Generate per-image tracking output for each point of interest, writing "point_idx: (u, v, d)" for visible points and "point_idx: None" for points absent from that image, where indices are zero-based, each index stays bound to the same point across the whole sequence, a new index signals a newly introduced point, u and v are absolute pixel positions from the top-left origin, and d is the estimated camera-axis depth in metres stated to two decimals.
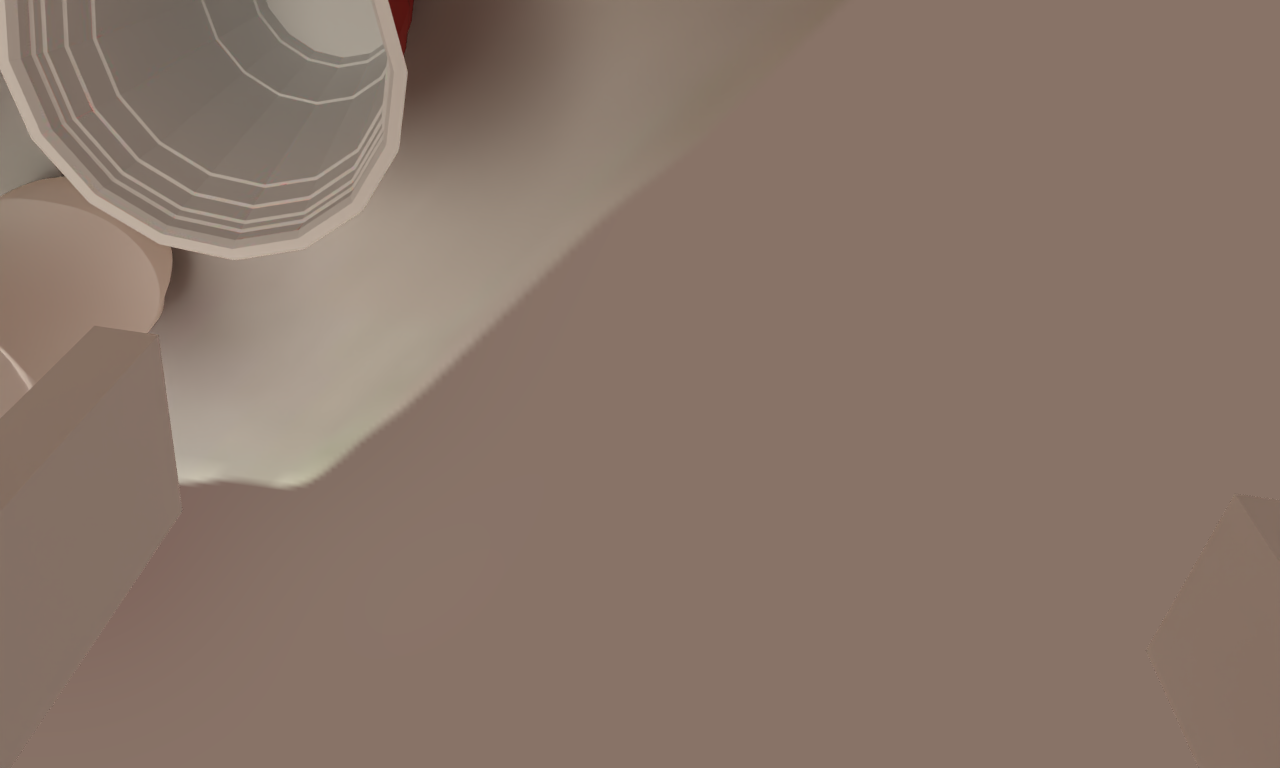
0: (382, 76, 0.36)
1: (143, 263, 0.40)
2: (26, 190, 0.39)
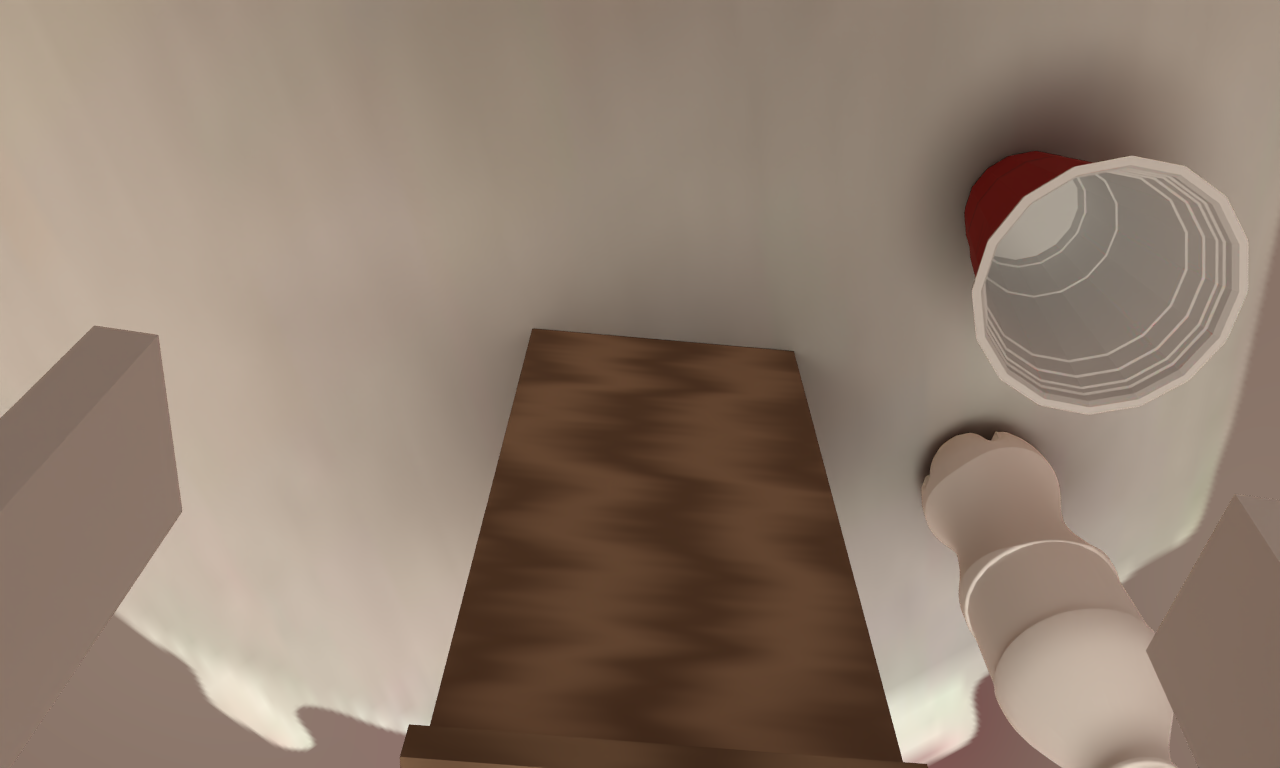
0: (1117, 228, 0.49)
1: (1034, 456, 0.55)
2: (944, 468, 0.56)
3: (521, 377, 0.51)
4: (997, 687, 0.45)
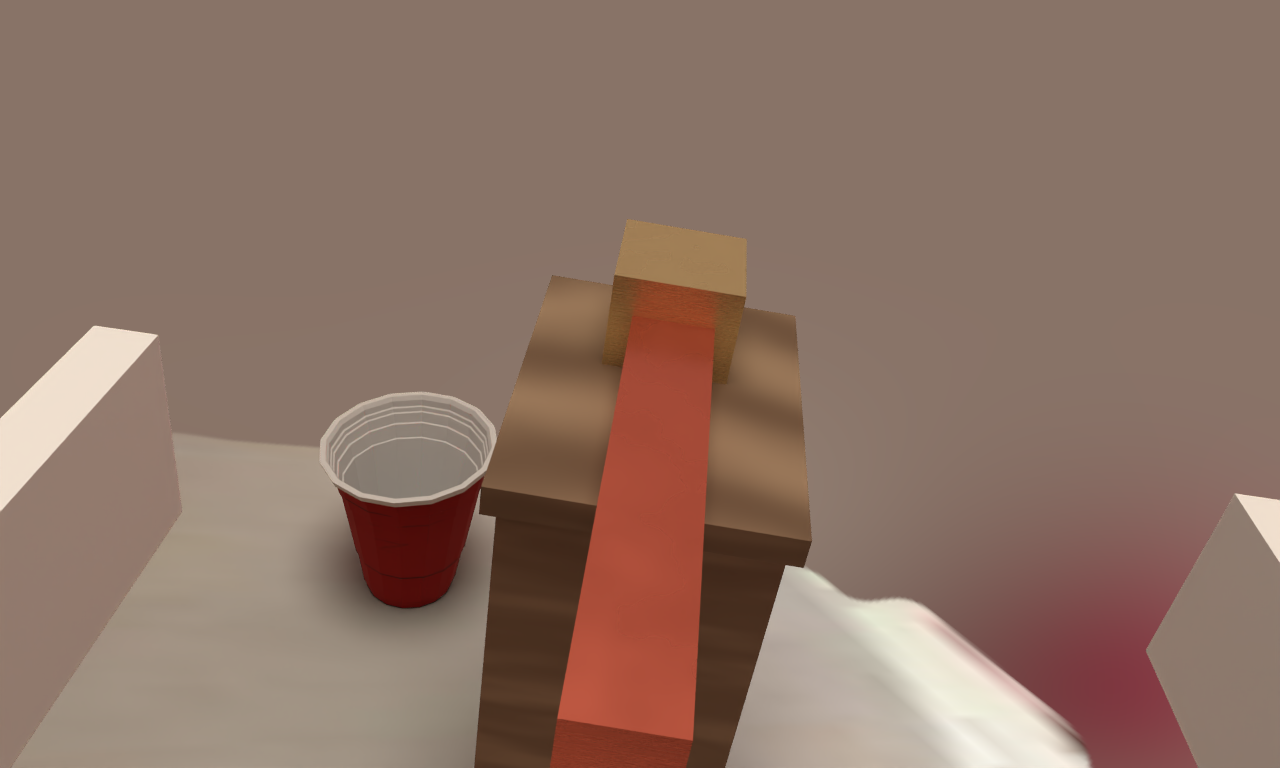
0: None
1: None
2: None
3: None
4: None
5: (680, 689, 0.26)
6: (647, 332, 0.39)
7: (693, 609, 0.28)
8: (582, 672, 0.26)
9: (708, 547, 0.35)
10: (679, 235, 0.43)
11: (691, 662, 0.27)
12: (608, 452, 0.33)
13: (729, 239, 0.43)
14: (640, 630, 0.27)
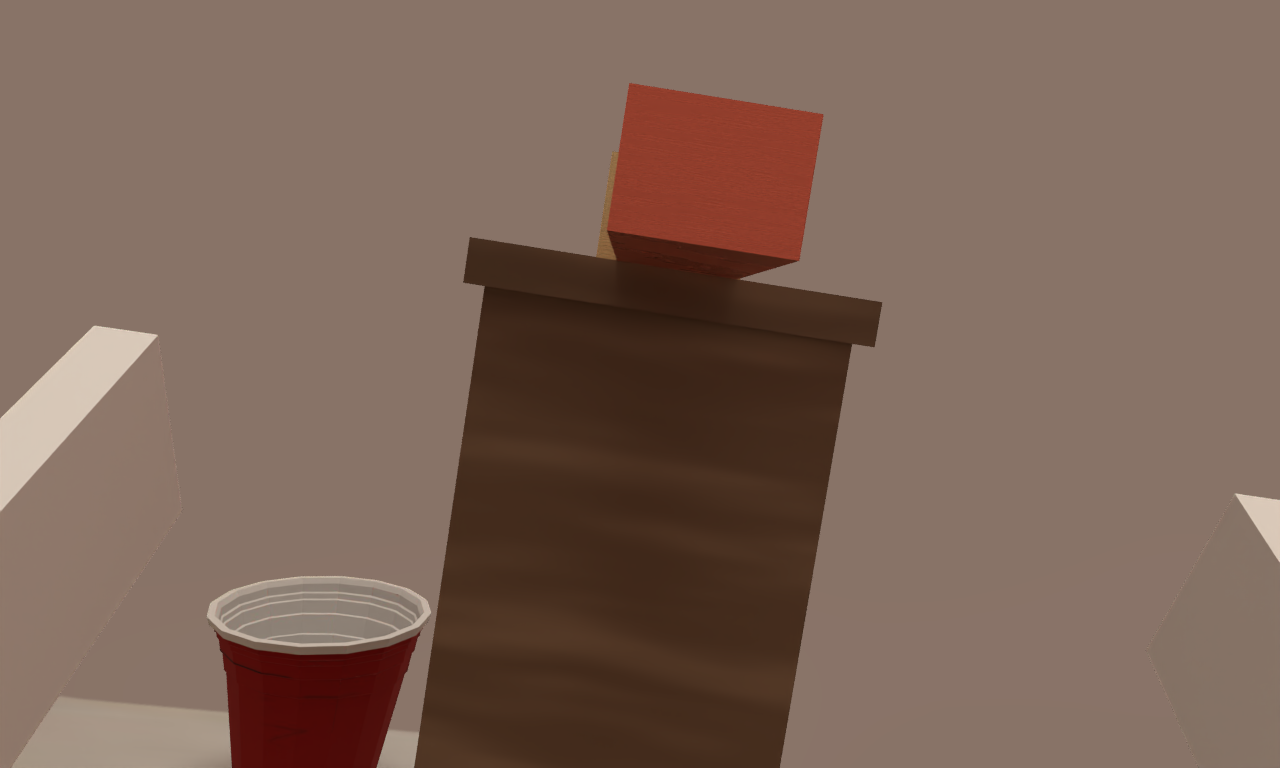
0: None
1: None
2: None
3: None
4: None
5: None
6: None
7: None
8: None
9: (754, 320, 0.28)
10: None
11: None
12: None
13: None
14: None
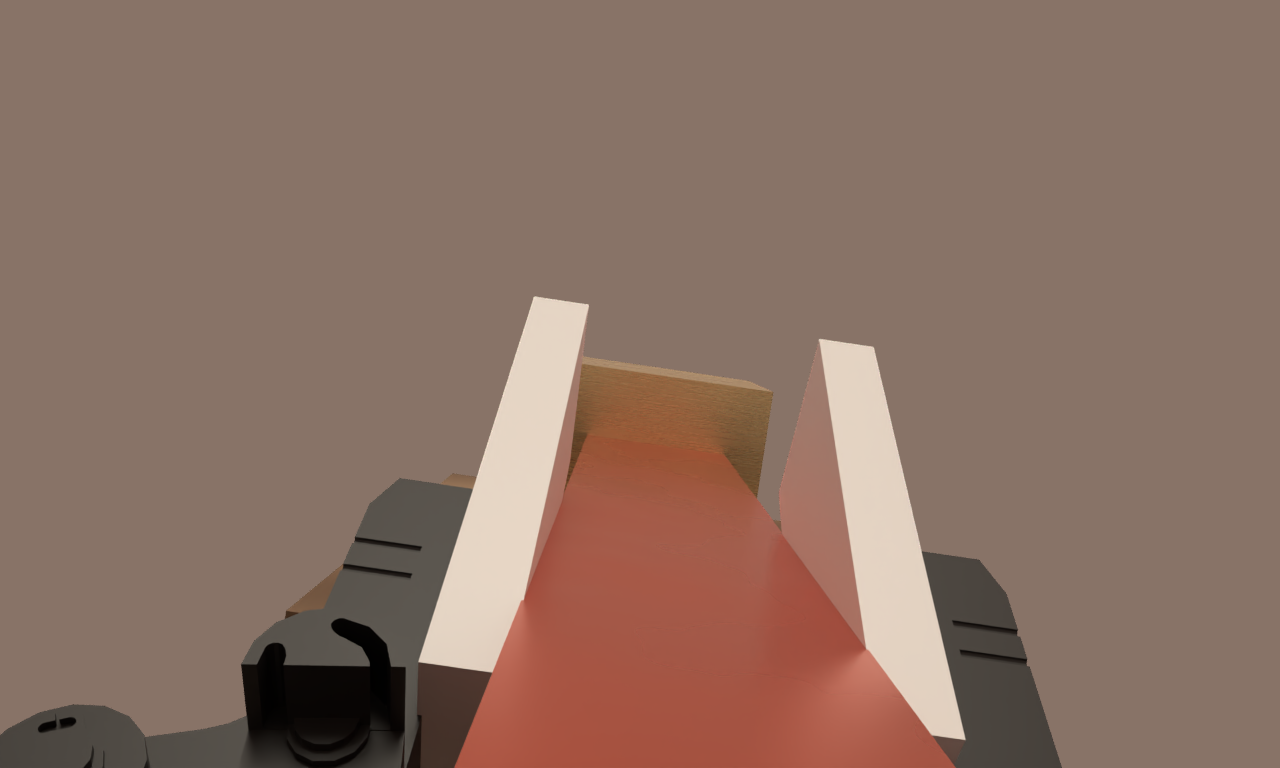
0: None
1: None
2: None
3: None
4: None
5: None
6: (615, 443, 0.23)
7: (850, 647, 0.10)
8: (539, 716, 0.07)
9: None
10: (650, 367, 0.29)
11: (906, 722, 0.08)
12: (567, 494, 0.16)
13: None
14: (715, 664, 0.09)
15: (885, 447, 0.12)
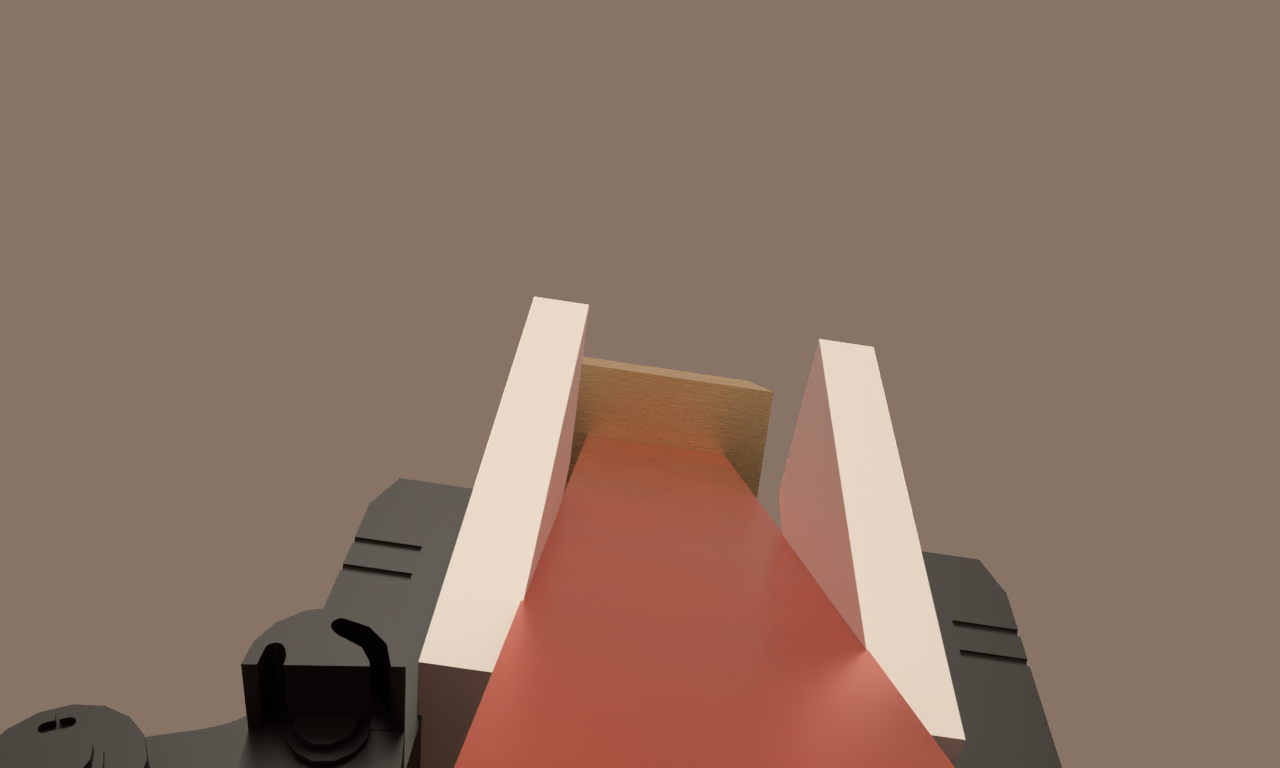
0: None
1: None
2: None
3: None
4: None
5: None
6: (615, 443, 0.23)
7: (850, 648, 0.10)
8: (538, 716, 0.07)
9: None
10: (650, 367, 0.29)
11: (905, 723, 0.08)
12: (567, 494, 0.16)
13: None
14: (715, 664, 0.09)
15: (885, 447, 0.12)
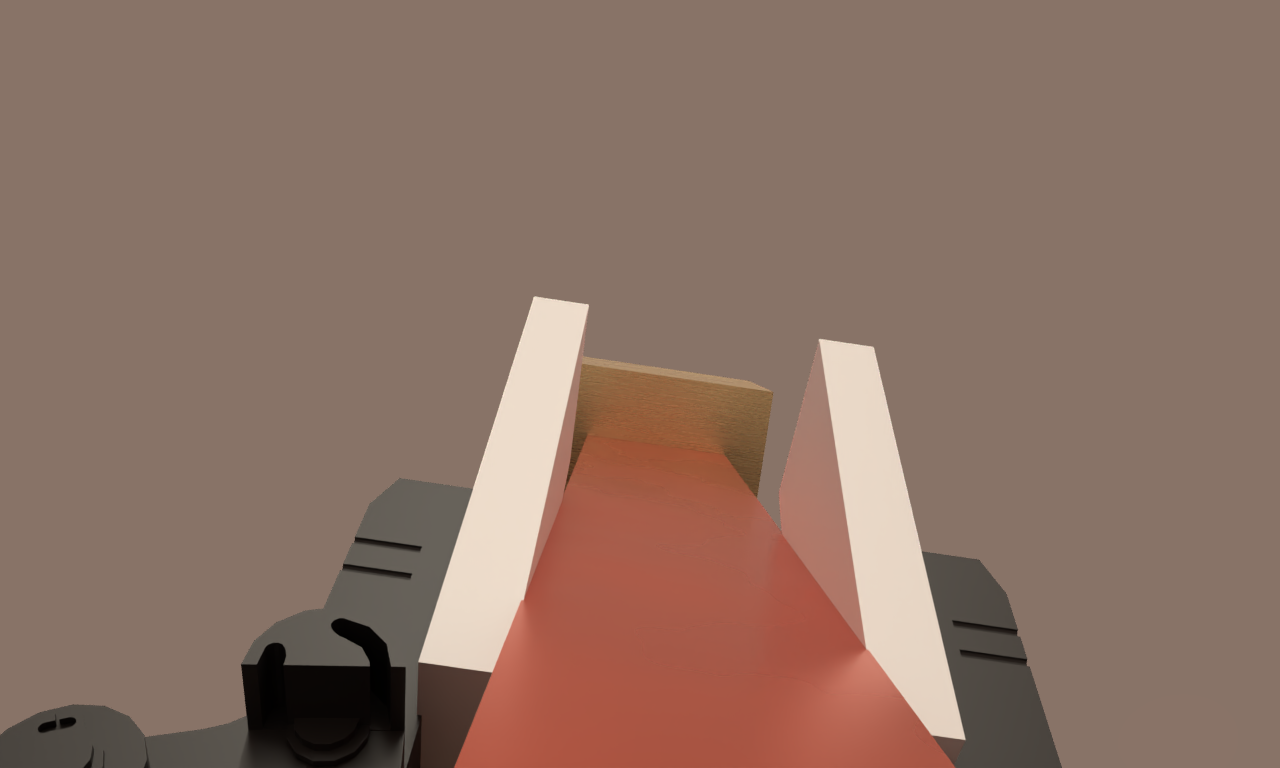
0: None
1: None
2: None
3: None
4: None
5: None
6: (615, 443, 0.23)
7: (850, 647, 0.10)
8: (539, 717, 0.07)
9: None
10: (650, 367, 0.29)
11: (906, 723, 0.08)
12: (567, 494, 0.16)
13: None
14: (715, 663, 0.09)
15: (885, 447, 0.12)
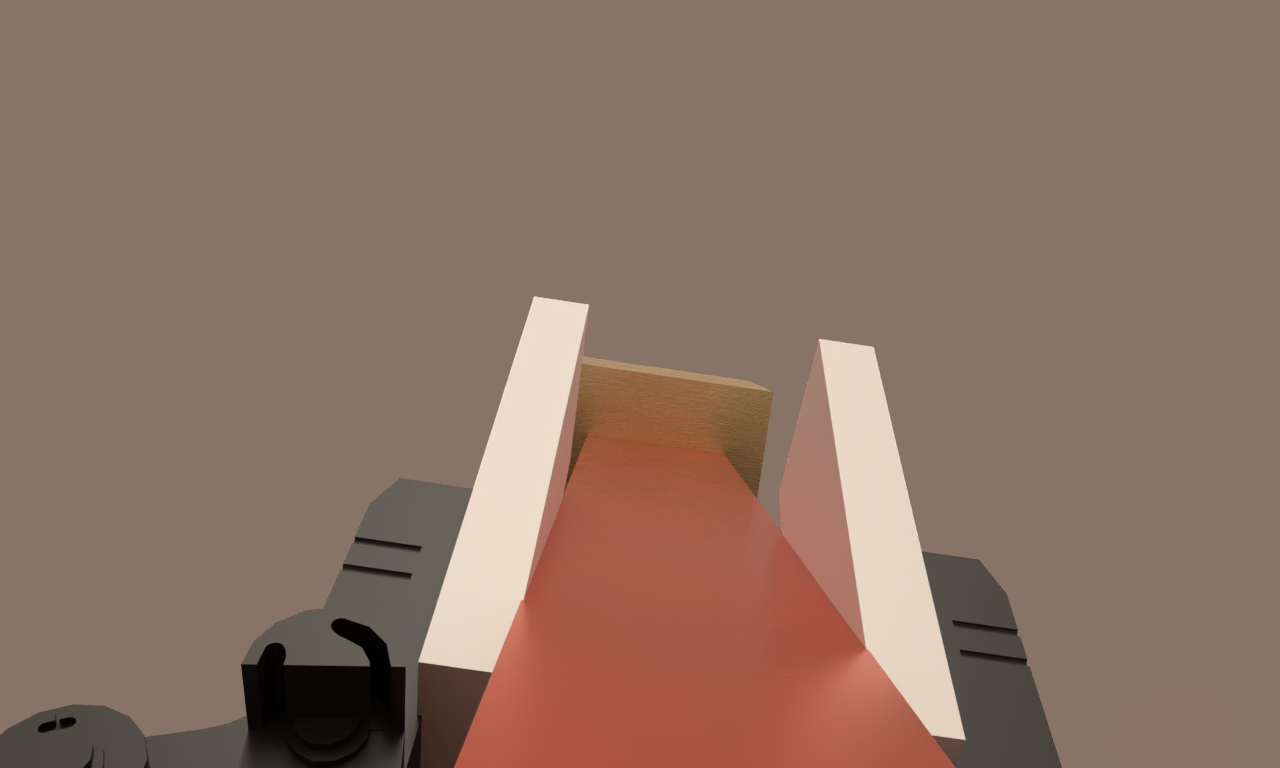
0: None
1: None
2: None
3: None
4: None
5: None
6: (615, 443, 0.23)
7: (850, 648, 0.10)
8: (539, 717, 0.07)
9: None
10: (650, 367, 0.29)
11: (906, 723, 0.08)
12: (567, 494, 0.16)
13: (724, 377, 0.29)
14: (715, 664, 0.09)
15: (885, 447, 0.12)
